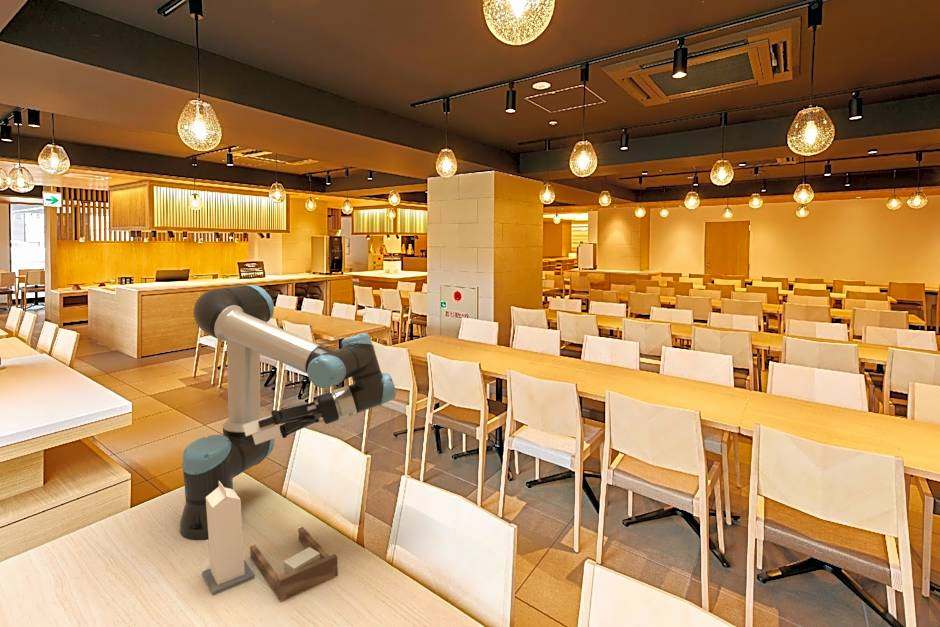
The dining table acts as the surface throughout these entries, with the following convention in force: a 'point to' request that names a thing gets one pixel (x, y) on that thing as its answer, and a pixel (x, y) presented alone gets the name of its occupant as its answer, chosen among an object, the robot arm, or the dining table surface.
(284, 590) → the rack
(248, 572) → the slate pad
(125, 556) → the dining table surface
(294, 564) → the offcut top
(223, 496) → the milk
